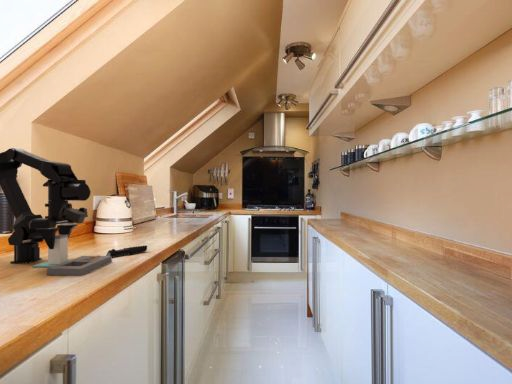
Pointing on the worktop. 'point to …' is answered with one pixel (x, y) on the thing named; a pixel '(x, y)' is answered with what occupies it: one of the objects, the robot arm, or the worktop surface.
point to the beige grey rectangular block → (59, 250)
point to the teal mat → (45, 264)
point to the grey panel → (79, 265)
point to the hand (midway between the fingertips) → (58, 247)
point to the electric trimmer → (126, 251)
